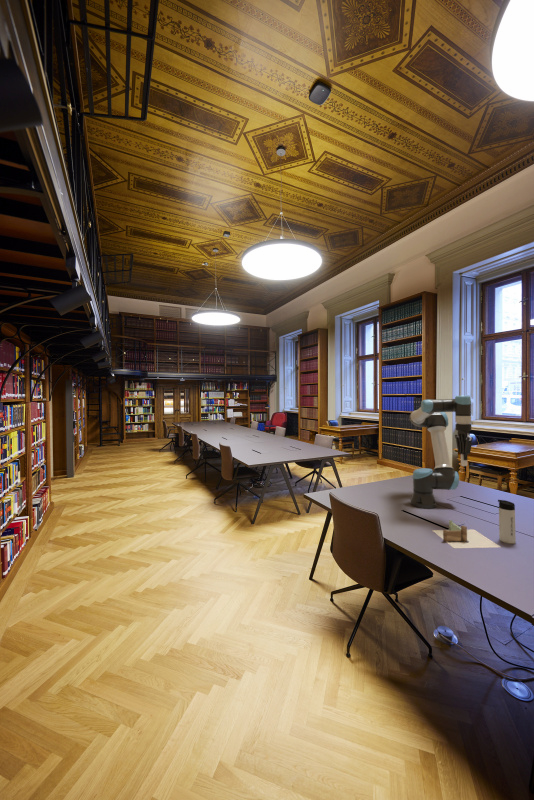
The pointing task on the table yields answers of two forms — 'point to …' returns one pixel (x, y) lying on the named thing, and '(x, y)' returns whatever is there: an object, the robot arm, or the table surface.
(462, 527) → the fence fixed
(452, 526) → the hinged rail
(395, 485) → the table surface
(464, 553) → the table surface
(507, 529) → the travel mug
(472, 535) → the card
